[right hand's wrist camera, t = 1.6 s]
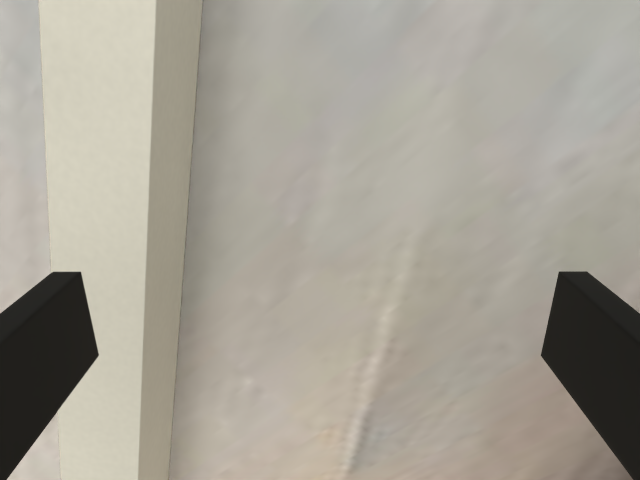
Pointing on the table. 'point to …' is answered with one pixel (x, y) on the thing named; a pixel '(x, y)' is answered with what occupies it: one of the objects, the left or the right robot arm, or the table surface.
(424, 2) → the table surface
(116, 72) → the post
